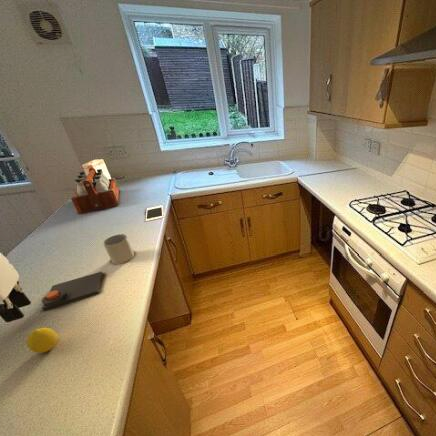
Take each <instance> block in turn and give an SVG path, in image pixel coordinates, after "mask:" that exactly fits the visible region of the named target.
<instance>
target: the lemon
mask: <svg viewBox="0 0 436 436" xmlns="http://www.w3.org/2000/svg"><path fill="white" fill-rule="evenodd" d="M57 343H58V334H57V332H55V331H54V329H52V328H49V327H39V328H37V329H34V330H33V331H31V332H30V334H28V336H27V338H26V345H27V347H28V349H29V350H30V351H31V352H34V353H37V354H42V353H46V352H48V351H50V350H52V349H53V348H54V347H55V346H56V344H57Z"/></svg>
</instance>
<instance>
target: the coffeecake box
mask: <svg viewBox="0 0 436 436" xmlns="http://www.w3.org/2000/svg"><path fill="white" fill-rule="evenodd" d="M81 167H82V169H83V172H85V174H86V176H88V174H89V169H90V168H94V169H95V170H96V172H97V169H102V171H103V174H104V175H105V176H106V177H107V178H108V179H112V177H111V174H110V172H109V170H108V167H107V165H106V163H105V161H104V159H102V158H101V159H93V160H90V161H89V162H86V163H84V164H81ZM92 182H93V179H92Z"/></svg>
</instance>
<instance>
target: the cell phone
mask: <svg viewBox="0 0 436 436" xmlns="http://www.w3.org/2000/svg"><path fill="white" fill-rule="evenodd" d="M145 212H146V213H145V222H151V221H155V220H161V219H163V218H164V206H163V205H158V206H152V207H147V208H146V211H145Z"/></svg>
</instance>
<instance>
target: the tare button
mask: <svg viewBox="0 0 436 436" xmlns="http://www.w3.org/2000/svg"><path fill="white" fill-rule="evenodd" d="M59 295H60V294H59V293H58V291H56V290H55V291H51V292H50V291H49V292H47V294H46V295H45V296H46V297H47V299H48V300H53V299H55V298H57V297H58V296H59Z"/></svg>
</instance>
